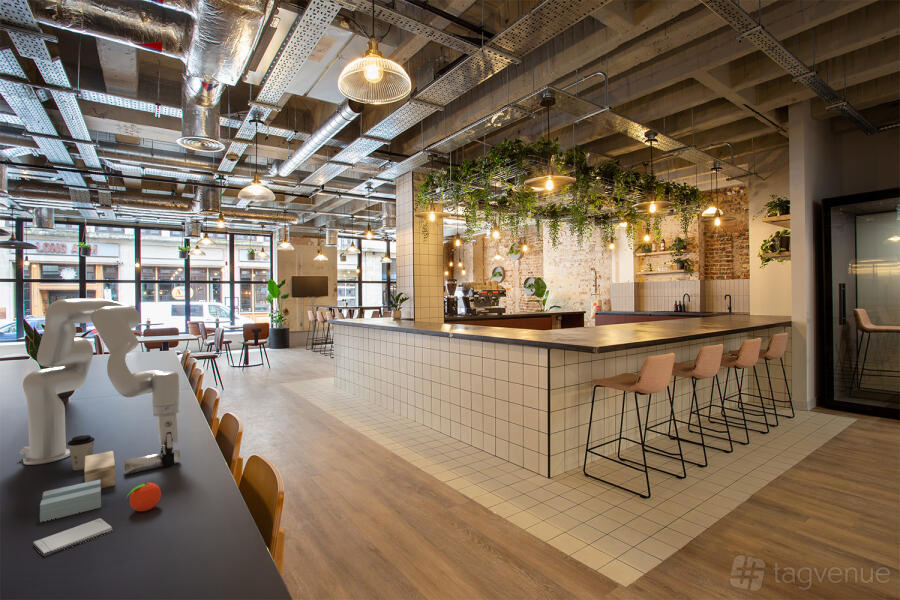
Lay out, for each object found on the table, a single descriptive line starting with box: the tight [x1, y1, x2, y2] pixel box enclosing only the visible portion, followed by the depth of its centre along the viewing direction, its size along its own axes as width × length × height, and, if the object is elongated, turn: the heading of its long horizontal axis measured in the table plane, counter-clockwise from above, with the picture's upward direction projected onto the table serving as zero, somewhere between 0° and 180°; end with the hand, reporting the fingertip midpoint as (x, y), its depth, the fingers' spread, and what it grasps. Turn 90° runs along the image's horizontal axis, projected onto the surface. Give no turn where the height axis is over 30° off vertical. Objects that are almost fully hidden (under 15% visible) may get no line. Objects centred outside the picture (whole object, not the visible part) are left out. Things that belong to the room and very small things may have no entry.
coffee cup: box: [67, 434, 95, 471], centre depth 145 cm, size 7×7×10 cm
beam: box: [84, 450, 116, 489], centre depth 135 cm, size 7×16×6 cm, turn 39°
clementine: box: [125, 482, 162, 512], centre depth 115 cm, size 8×7×7 cm
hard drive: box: [32, 518, 113, 554], centre depth 102 cm, size 2×8×12 cm
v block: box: [39, 480, 102, 523], centre depth 118 cm, size 12×12×4 cm
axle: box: [123, 448, 181, 475], centre depth 143 cm, size 15×4×4 cm, turn 129°
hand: (167, 462), depth 146 cm, fingers closed on axle, 4 cm apart
